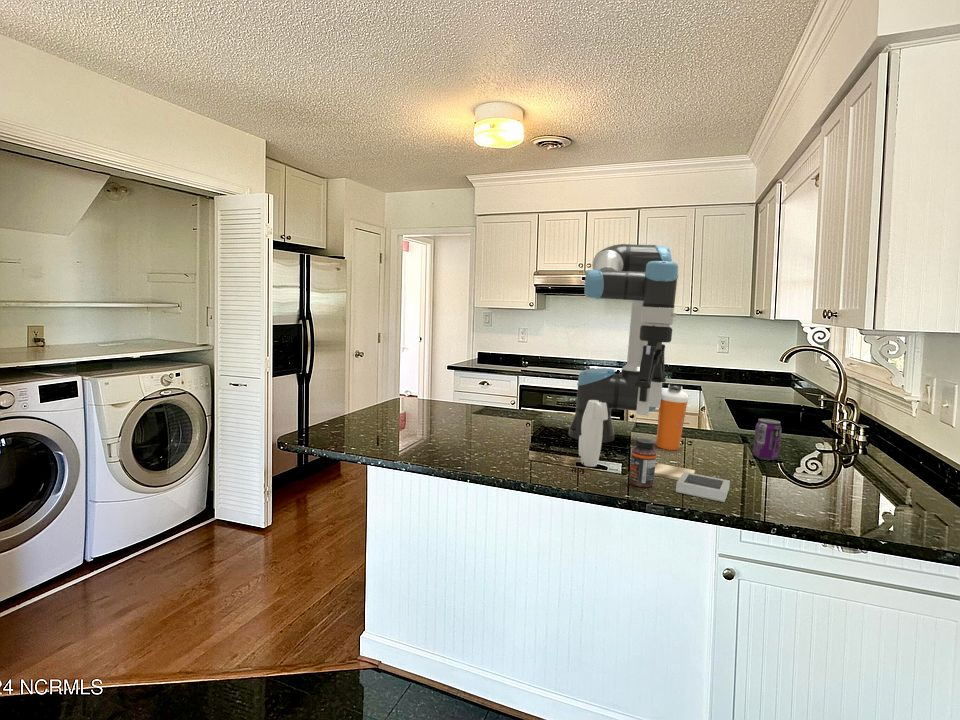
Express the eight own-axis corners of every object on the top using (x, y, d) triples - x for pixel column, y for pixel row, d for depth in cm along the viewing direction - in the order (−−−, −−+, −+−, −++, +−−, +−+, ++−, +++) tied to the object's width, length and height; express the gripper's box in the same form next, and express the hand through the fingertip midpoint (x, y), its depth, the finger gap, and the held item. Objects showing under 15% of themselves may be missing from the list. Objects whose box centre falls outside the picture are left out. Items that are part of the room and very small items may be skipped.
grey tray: (675, 492, 136) (676, 482, 136) (683, 480, 146) (684, 471, 145) (724, 502, 131) (725, 492, 130) (729, 489, 140) (730, 480, 140)
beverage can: (780, 462, 170) (785, 424, 169) (756, 460, 171) (760, 421, 170) (773, 456, 177) (778, 419, 176) (749, 454, 178) (753, 417, 177)
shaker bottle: (654, 448, 177) (661, 386, 175) (652, 441, 186) (659, 382, 183) (683, 452, 175) (691, 390, 173) (680, 445, 184) (688, 385, 181)
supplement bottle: (623, 481, 142) (627, 437, 141) (643, 479, 144) (647, 437, 143) (638, 488, 137) (642, 443, 135) (658, 487, 139) (662, 443, 138)
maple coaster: (649, 474, 149) (650, 471, 149) (657, 466, 158) (657, 463, 158) (689, 482, 144) (689, 479, 144) (694, 473, 153) (695, 470, 153)
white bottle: (607, 468, 153) (592, 460, 160) (613, 403, 151) (597, 398, 158) (586, 469, 151) (572, 461, 157) (592, 403, 149) (577, 398, 155)
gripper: (662, 326, 124) (653, 420, 126) (681, 326, 145) (673, 406, 148) (628, 324, 127) (620, 415, 129) (651, 324, 149) (644, 402, 151)
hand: (648, 410), depth 138 cm, fingers open, 13 cm apart
